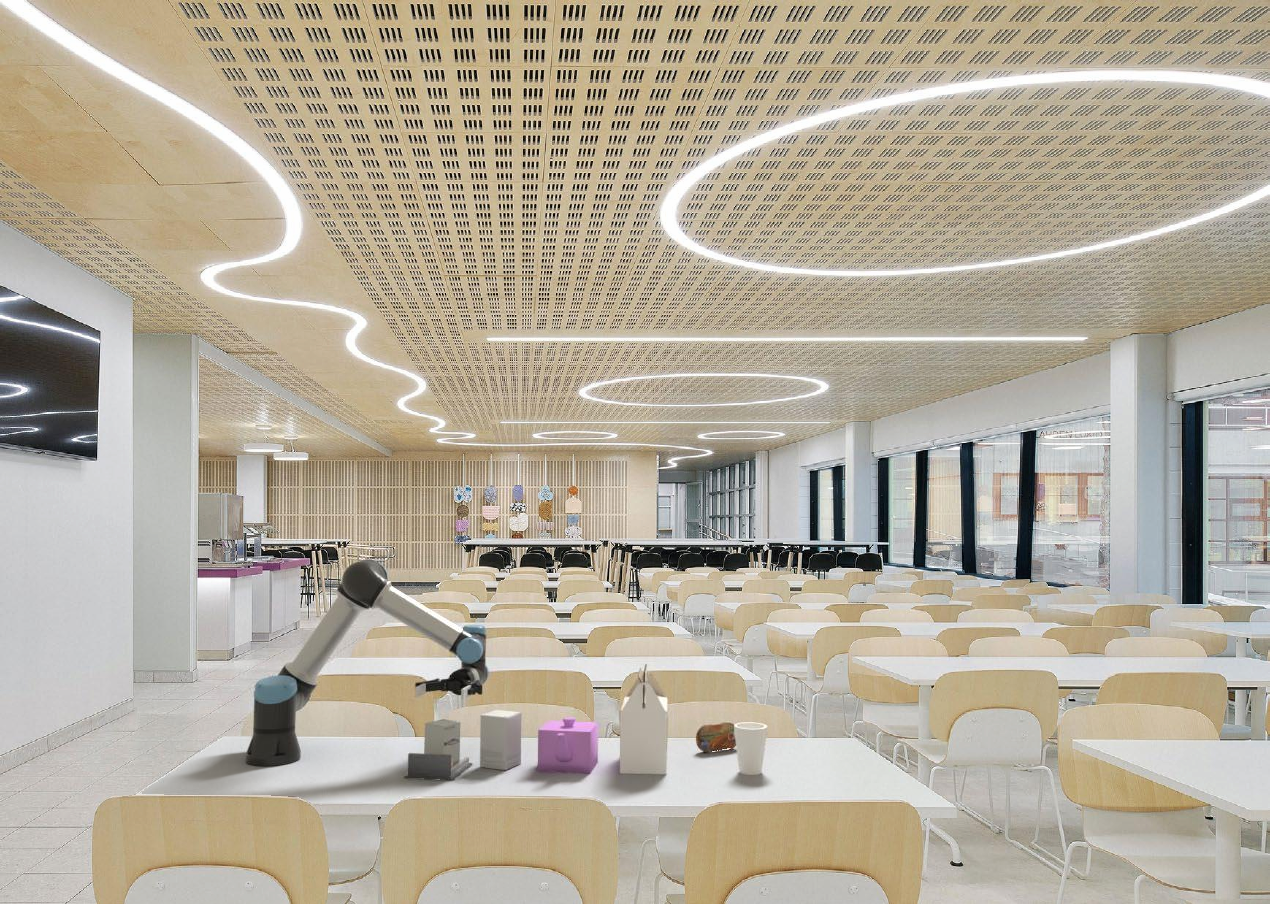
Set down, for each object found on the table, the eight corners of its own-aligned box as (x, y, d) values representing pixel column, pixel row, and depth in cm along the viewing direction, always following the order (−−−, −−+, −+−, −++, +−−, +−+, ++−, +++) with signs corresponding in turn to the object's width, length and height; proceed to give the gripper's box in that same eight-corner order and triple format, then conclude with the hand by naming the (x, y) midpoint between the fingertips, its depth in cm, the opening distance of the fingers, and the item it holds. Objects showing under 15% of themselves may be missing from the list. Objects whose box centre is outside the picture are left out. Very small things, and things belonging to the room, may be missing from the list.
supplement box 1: (441, 771, 273) (442, 725, 274) (422, 767, 277) (424, 722, 278) (460, 766, 279) (461, 721, 280) (441, 762, 283) (442, 718, 284)
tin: (699, 754, 298) (700, 726, 299) (694, 752, 301) (694, 724, 302) (739, 749, 306) (739, 721, 307) (733, 747, 309) (733, 720, 309)
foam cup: (745, 777, 272) (745, 730, 273) (727, 770, 280) (727, 724, 281) (773, 774, 276) (773, 727, 277) (755, 766, 285) (755, 721, 285)
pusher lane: (404, 778, 268) (404, 753, 269) (426, 762, 285) (426, 739, 286) (453, 780, 266) (453, 755, 267) (472, 764, 283) (472, 741, 283)
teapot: (531, 778, 270) (532, 727, 271) (550, 756, 294) (551, 709, 295) (585, 781, 268) (586, 729, 269) (600, 758, 292) (601, 711, 293)
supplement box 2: (522, 763, 285) (523, 711, 286) (505, 770, 277) (506, 717, 278) (495, 760, 289) (496, 708, 290) (478, 767, 281) (479, 714, 282)
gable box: (623, 754, 297) (624, 661, 299) (667, 755, 297) (667, 662, 298) (619, 774, 275) (620, 673, 277) (666, 775, 274) (667, 674, 276)
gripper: (502, 694, 295) (481, 708, 274) (423, 691, 298) (396, 704, 278) (503, 669, 295) (482, 681, 274) (424, 666, 299) (397, 678, 278)
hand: (439, 693), depth 276 cm, fingers open, 13 cm apart
